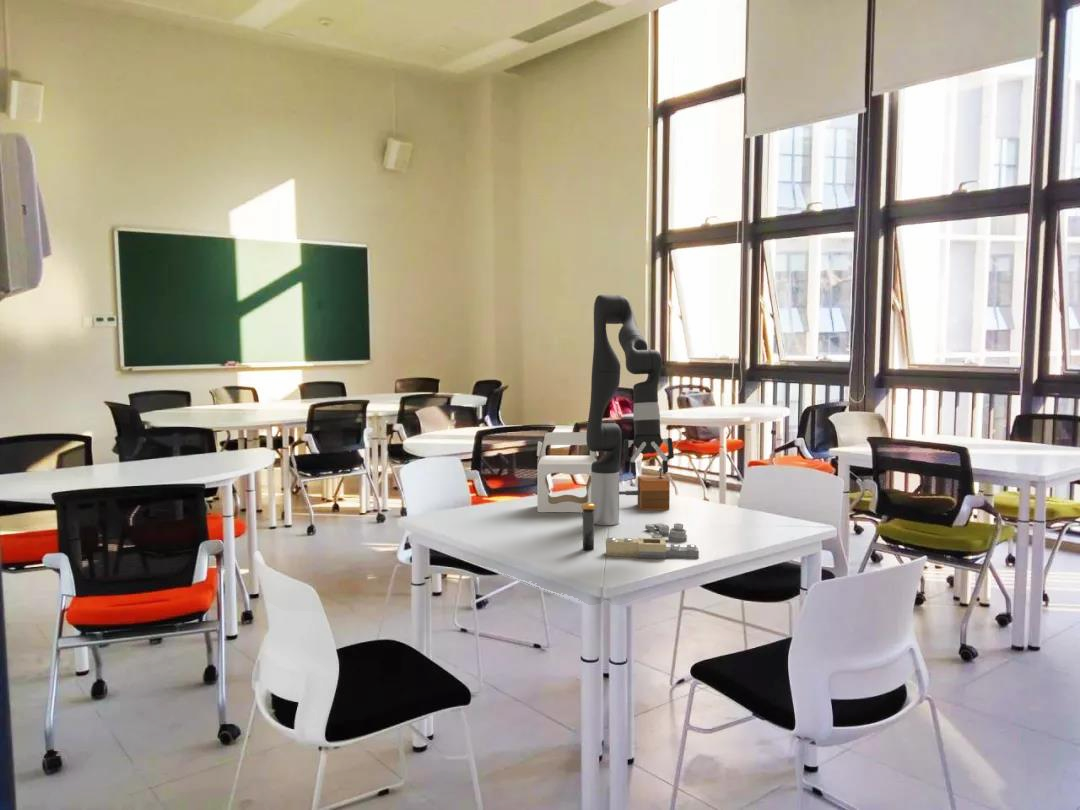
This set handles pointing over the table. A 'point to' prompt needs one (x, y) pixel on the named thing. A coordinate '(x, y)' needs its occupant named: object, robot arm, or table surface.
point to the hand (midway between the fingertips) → (649, 474)
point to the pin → (588, 526)
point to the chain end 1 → (634, 546)
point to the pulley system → (675, 533)
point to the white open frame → (564, 466)
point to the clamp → (652, 492)
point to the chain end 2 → (672, 552)
